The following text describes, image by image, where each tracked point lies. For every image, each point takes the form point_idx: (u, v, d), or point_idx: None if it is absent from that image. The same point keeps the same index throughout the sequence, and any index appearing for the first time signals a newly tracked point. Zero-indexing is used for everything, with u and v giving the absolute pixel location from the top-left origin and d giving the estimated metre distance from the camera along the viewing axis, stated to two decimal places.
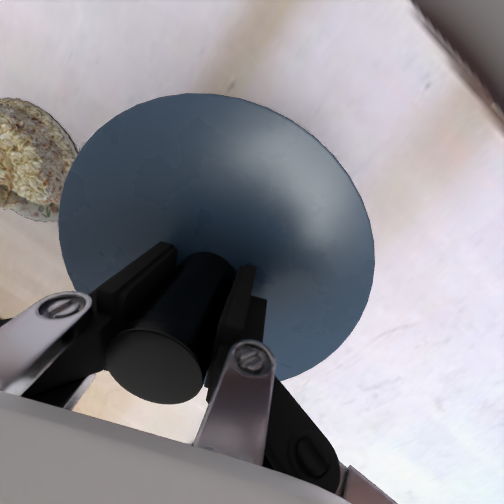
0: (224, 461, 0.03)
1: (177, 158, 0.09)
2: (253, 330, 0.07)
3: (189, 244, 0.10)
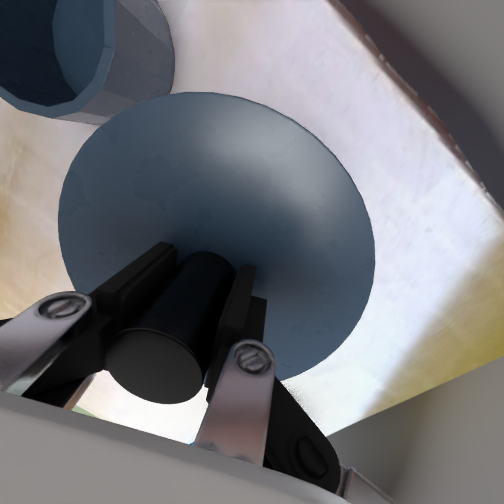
0: (224, 461, 0.03)
1: (177, 157, 0.09)
2: (253, 330, 0.07)
3: (189, 244, 0.10)
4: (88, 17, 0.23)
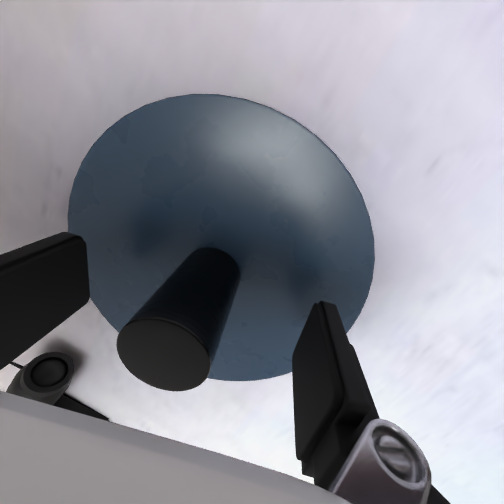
0: (224, 461, 0.03)
1: (184, 156, 0.09)
2: None
3: (195, 240, 0.11)
4: None
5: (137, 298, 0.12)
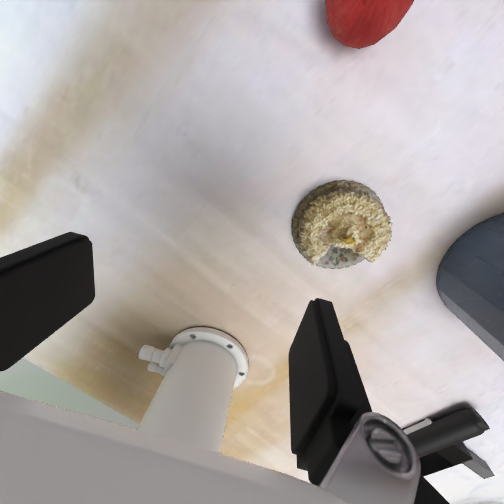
0: (224, 461, 0.03)
1: None
2: None
3: None
4: None
5: None
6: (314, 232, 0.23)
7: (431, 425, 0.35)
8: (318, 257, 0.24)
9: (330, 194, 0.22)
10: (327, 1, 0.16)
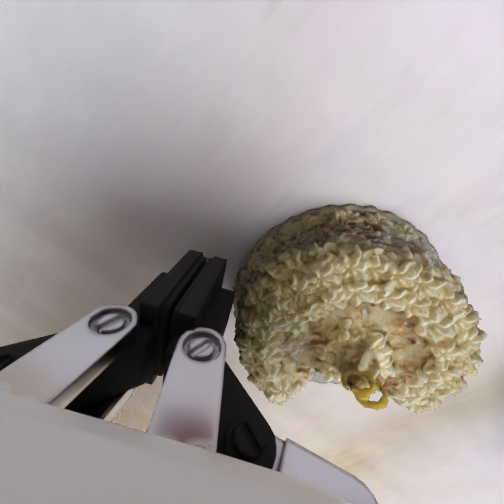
0: (224, 461, 0.03)
1: None
2: (213, 320, 0.07)
3: None
4: None
5: None
6: (271, 347, 0.09)
7: None
8: None
9: (313, 250, 0.08)
10: None
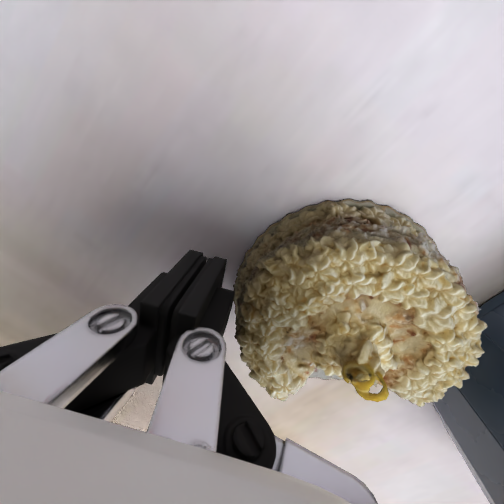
0: (224, 461, 0.03)
1: None
2: (213, 320, 0.07)
3: None
4: None
5: None
6: (272, 342, 0.09)
7: None
8: None
9: (310, 245, 0.08)
10: None
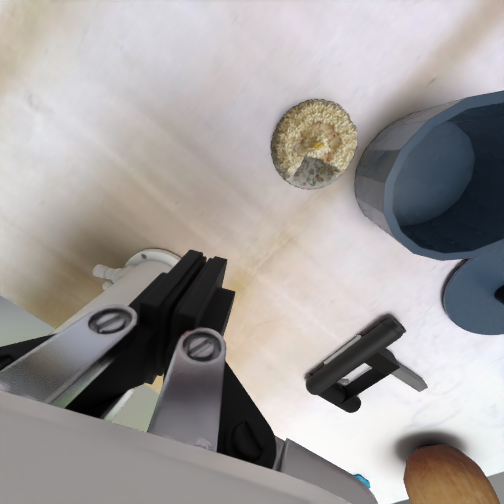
0: (224, 461, 0.03)
1: None
2: (214, 320, 0.07)
3: None
4: None
5: (467, 301, 0.33)
6: (288, 143, 0.25)
7: (360, 339, 0.37)
8: (293, 169, 0.26)
9: (301, 105, 0.24)
10: None
